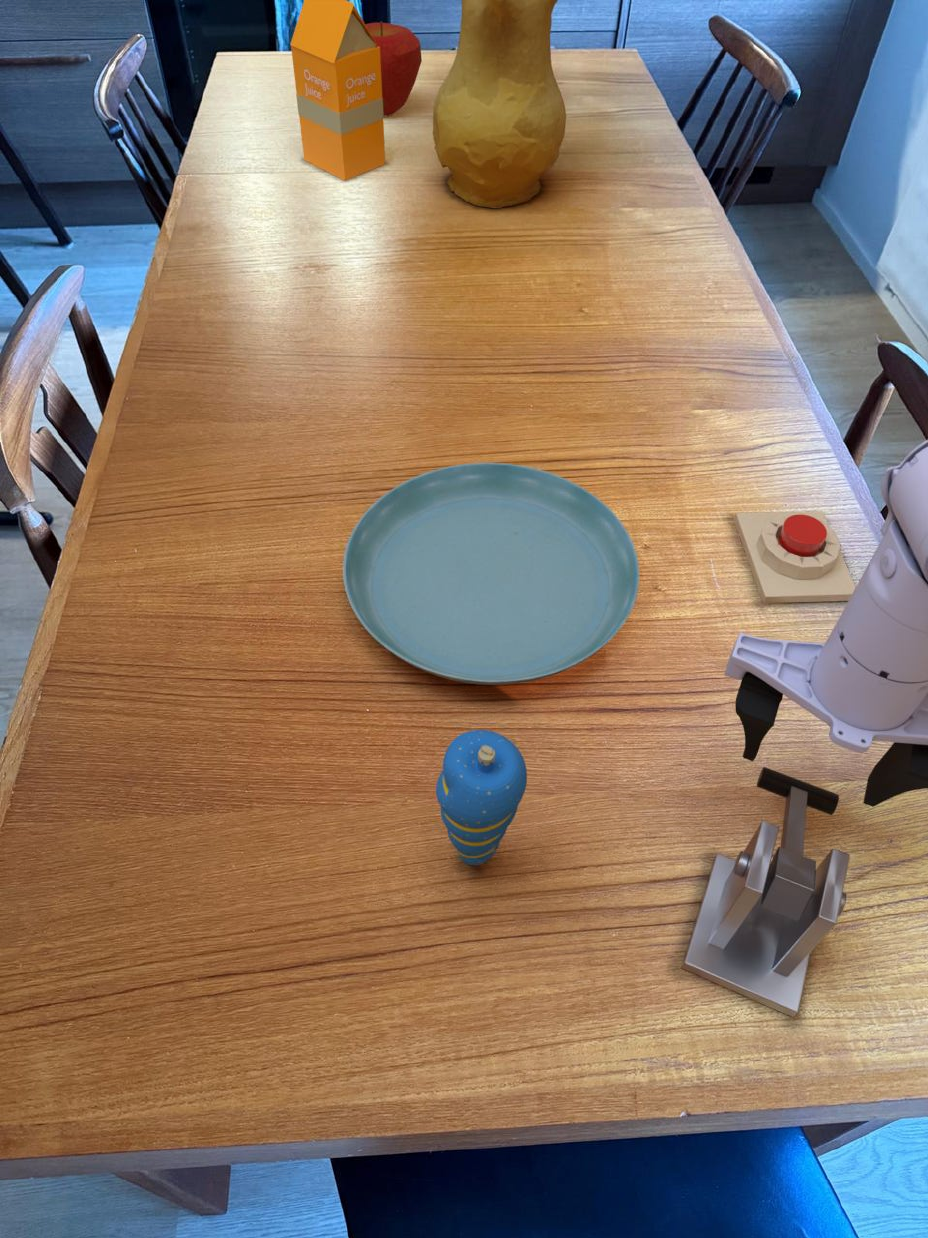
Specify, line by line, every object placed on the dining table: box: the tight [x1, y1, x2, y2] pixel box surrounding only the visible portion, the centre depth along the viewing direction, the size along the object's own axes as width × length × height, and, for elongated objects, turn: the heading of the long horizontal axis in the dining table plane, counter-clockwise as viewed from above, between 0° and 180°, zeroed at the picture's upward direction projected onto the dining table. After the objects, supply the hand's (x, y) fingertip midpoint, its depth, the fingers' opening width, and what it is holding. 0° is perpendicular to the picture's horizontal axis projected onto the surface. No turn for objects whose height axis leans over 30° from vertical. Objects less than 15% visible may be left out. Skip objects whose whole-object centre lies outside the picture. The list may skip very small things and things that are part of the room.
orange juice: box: [289, 0, 386, 182], centre depth 118 cm, size 8×9×20 cm
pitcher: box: [432, 0, 567, 209], centre depth 113 cm, size 17×19×25 cm
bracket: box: [681, 820, 851, 1018], centre depth 54 cm, size 8×7×10 cm
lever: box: [756, 766, 840, 921], centre depth 55 cm, size 12×5×2 cm, turn 156°
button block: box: [733, 510, 857, 604], centre depth 77 cm, size 10×8×2 cm
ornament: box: [435, 729, 528, 866], centre depth 54 cm, size 5×5×15 cm
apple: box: [365, 20, 423, 117], centre depth 132 cm, size 11×11×12 cm
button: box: [779, 514, 827, 557], centre depth 76 cm, size 4×4×2 cm
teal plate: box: [342, 462, 640, 686], centre depth 74 cm, size 24×24×3 cm
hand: (810, 769), depth 58 cm, fingers open, 7 cm apart
